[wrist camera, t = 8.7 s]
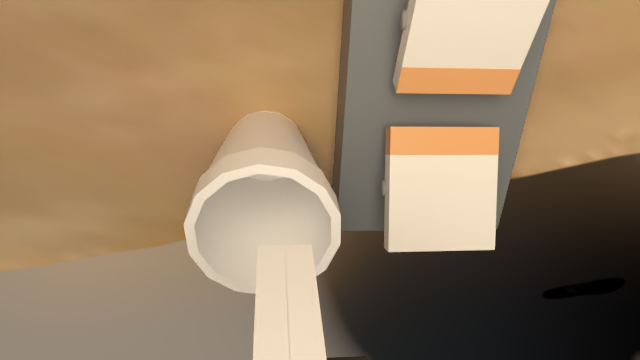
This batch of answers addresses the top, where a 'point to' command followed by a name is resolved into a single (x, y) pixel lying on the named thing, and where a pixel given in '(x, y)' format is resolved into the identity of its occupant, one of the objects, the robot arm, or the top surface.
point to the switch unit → (407, 109)
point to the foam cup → (260, 202)
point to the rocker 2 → (440, 188)
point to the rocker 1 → (465, 45)
